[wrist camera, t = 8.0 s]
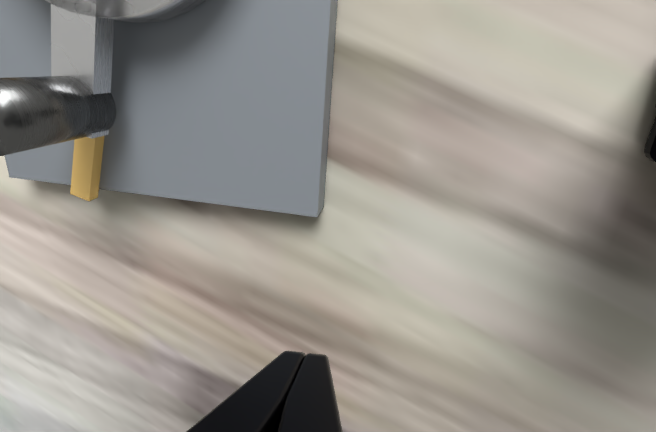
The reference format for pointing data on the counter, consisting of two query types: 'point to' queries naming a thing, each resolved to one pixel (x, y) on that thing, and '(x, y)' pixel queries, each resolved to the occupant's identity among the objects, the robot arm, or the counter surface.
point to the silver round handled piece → (74, 74)
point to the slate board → (197, 104)
